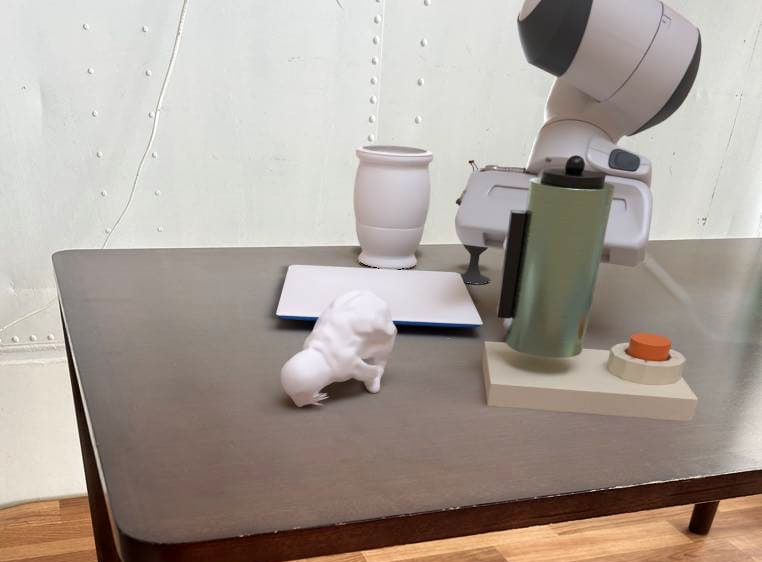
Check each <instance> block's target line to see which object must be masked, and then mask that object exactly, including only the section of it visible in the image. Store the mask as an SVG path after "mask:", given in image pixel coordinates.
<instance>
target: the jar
mask: <svg viewBox="0 0 762 562" xmlns="http://www.w3.org/2000/svg"><path fill="white" fill-rule="evenodd" d="M434 153H435V152H433V151H431V150H427V149H424V148H423V149H422V148H417V147H411V146H401V145H383V144H382V145H379V144H378V145H376V144H375V145H363V146H358V147H356V150H355V157H357V159H359V163H358V166H357V169H356V173H355V178H354V184H353V185H354V186H353V213H354V219H355V230H356V231H355V232H356V237H357V240H358V244H359V246H360V248H361V252H360V254H359V256H358V258H357V261H358V260H359V261H358V263H360V262H361V263H363V264H365V265H368V266H372V267H371V268H373V267H377V268H376V269H378V268H387V269H401V270H403V269H402V268H408V269H410V268H409V267H412V268H414V267H416V266H417V265H418V260H417V258H416V256H415V252H416V251H417V250H418V249H419V248H418V247H419V245H420V244H421V240H422V238H423V235H424V230H425V225H426V221H427V217H428V214H429V209H430V204H431V203H430V201H431V174H430V169H429V165H430V163H432V162H433V160H434ZM361 263H360V264H361ZM363 264H362V265H363ZM365 265H364V266H365ZM415 265H416V266H415ZM368 266H367V267H368ZM413 266H414V267H413Z"/></svg>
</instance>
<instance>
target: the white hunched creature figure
mask: <svg viewBox="0 0 762 562" xmlns="http://www.w3.org/2000/svg"><path fill="white" fill-rule="evenodd" d="M397 334H398V329H397V327H396V325H394V324H393V321H392V315H391V312H390V309H389V307H388V305H387V304H386V302H385V301H384V300H382V299H380V298H379V297H377V296H376V295H375V294H373V293H372V292H370V291H368V290H351V291H348V292H346V293H344V294H342V295H340V296H339V297H337V298H336V299H335V300H334V301H333V302H332V303H331V304H330V305H329V306H328V307H327V308H326V309H325V310H324V311H323V313H322V315H321V316H320V317H319V318H318V320H317V321H315V324H314V325H313V329H312V330H311V333H310V334H309V335H308V336H307V337H306V338H305V340H304V343H303V345H302V350H301V351H299V352H297V353H296V354H294V355H293V356H291V358H289V360H287V361H286V363H284V365H283V366H282V367H281V370H280V383H281V387H282V389H283V391H284V392H285V393H286V394H287V395H288V396H289V397H290V398H291V400H292V401H293V403H294V404H295V406H297V407H298V408H302V407H303V406H307V405H315V406H325V405H324V404H321V403H319V402H320V401H322V400H325V399H327V398H329V396H327V395H328V393H323V392H322V393H321V391H322V389H324V388H325V387H327V386H328V385H330V384H334V383H342V382H346V381H349V380H350V379H354V380H356V381H361V382H363V384H364V386H365V387H366V390H367V391H368V392H369V393H371V394H377V393H379V392H380V389H381V379H382V377H383V375H384V373H385V368H386V367H387V364H388V359H389V357H390V356H391V354H392V353H393V350H394V345H395V341H396V337H397Z"/></svg>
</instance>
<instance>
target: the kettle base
mask: <svg viewBox="0 0 762 562" xmlns="http://www.w3.org/2000/svg"><path fill="white" fill-rule="evenodd" d="M483 343H484V344H483V352H482V358H481V359H482V360H481V364H482V372H483V373H482V374H483V381H484V389H485V396H486V404H487V407H497V408H498V407H499V408H508V409H521V410H522V409H524V410H536V411H548V412H559V413H560V412H563V413H574V414H586V415H598V416H599V415H600V416H610V417H611V416H612V417H623V418H637V419H649V420H662V421H674V422H675V421H677V422H687V423H688V422H689V423H692V422H693V419H694V416H695V412H696V408H697V405H698V402H699V398H698V397H697V396H696V394H695V393H694V391H693V390H692V388H691V387H690V385H688V383H687V381H686V380H685V379H684V377H683V373H684V368H685V365H686V361H687V359H686V357H684V355H683V354H682V352H681V353H680V352H679V351H676V350H674V349H671V348H670V351H669V355H668V359H667V361H662V362H657V361H645V360H641V359H637V358H633V357H631V356H629V355H627V352H628V347H629V343H630V342H622V343H617V344H615V345H614V346H612V347H611V348H610V349H609V350H608V349H595V348H583V351H582V352H581V353H580V354H579V355H577V356H574V357H569V358H543V357H536V356H531V355H527V354H523V353H520V352H518V351H515V350H513V349H512V348H510V347H509V346H508V345H507V343H506V342H500V341H487V340H486V341H484V342H483Z"/></svg>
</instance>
